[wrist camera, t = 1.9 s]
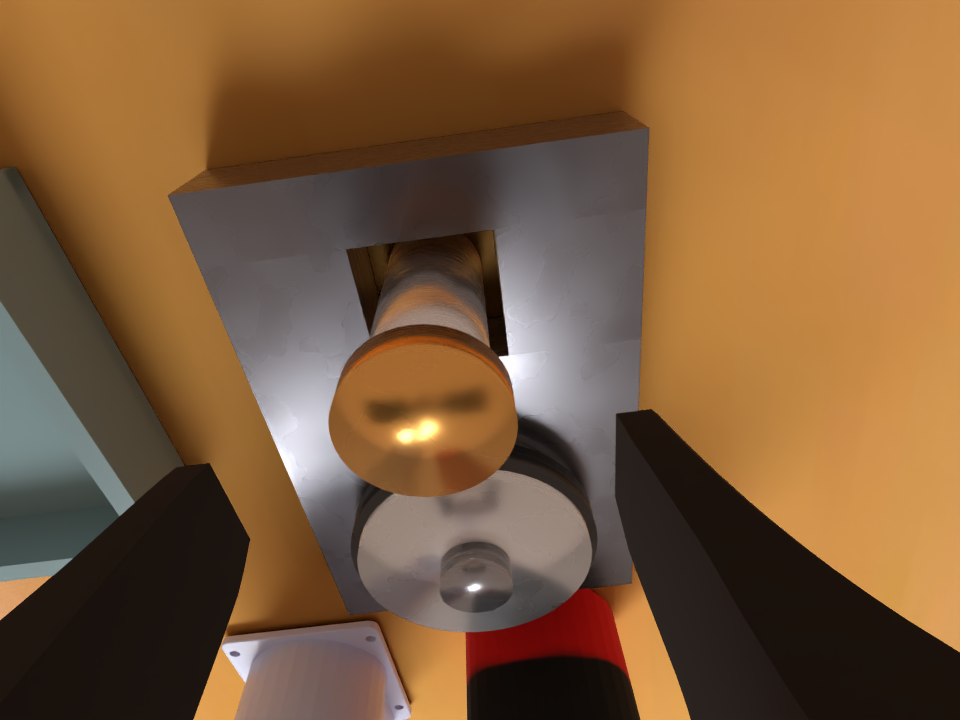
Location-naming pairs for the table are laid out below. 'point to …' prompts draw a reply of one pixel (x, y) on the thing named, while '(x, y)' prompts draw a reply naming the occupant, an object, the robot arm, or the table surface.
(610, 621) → the soda can
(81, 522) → the tray
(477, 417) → the lock pin
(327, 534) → the bracket
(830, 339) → the table surface
